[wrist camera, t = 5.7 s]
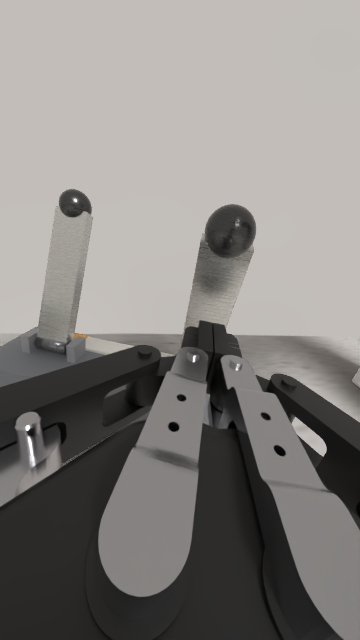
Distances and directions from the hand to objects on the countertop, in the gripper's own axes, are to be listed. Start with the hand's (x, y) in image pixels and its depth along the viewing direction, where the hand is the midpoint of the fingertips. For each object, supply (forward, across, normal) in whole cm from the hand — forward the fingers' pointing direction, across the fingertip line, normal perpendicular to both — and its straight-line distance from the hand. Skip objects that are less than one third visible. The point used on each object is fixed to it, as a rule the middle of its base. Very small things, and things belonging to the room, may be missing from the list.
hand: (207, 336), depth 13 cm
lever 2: (+6, 0, +7) cm, 9 cm away
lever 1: (+6, +14, +7) cm, 17 cm away
